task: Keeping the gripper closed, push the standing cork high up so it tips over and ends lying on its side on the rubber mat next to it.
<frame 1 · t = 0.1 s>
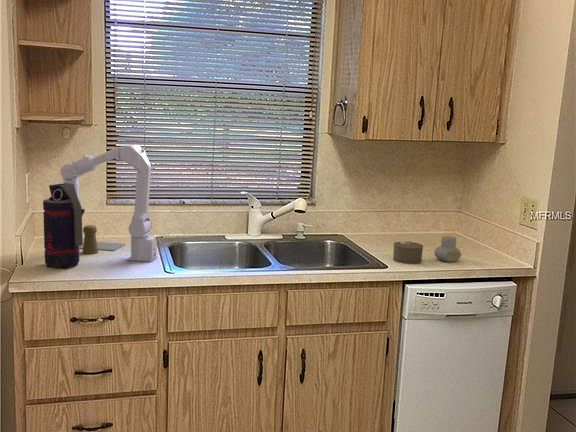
hand: (72, 229, 237), 10 cm above the worktop, tool pointing down, fingers open, 7 cm apart
cork: (90, 253, 243), on the worktop
grenade: (64, 266, 222), on the worktop
air freshener: (446, 260, 256), on the worktop
can: (407, 261, 252), on the worktop
mat: (101, 246, 253), on the worktop
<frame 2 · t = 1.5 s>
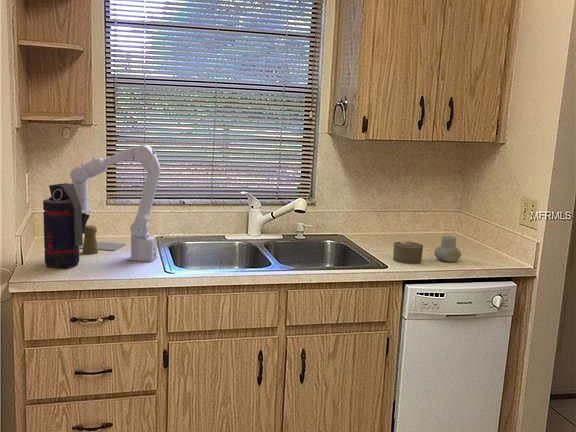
hand: (80, 233, 233), 10 cm above the worktop, tool pointing down, fingers closed
nothing on the worktop moved.
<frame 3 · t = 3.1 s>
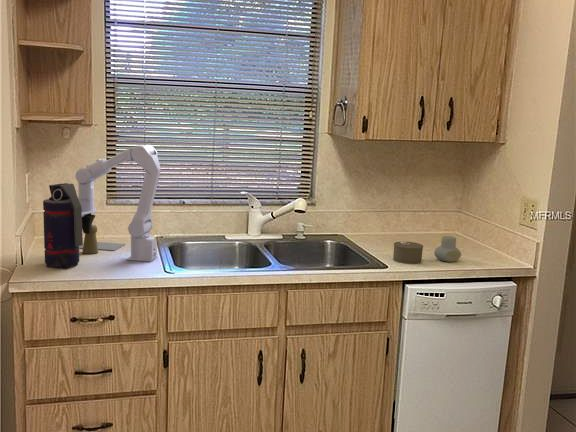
hand: (86, 233, 238), 8 cm above the worktop, tool pointing down, fingers closed
cork: (90, 252, 243), on the worktop, touching gripper
everything else where it was.
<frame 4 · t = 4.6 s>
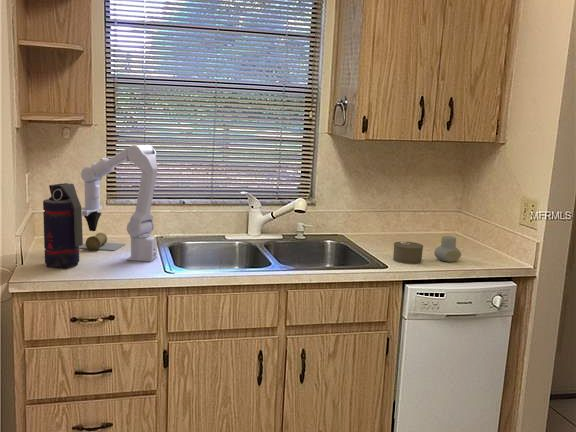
hand: (92, 230, 243), 8 cm above the worktop, tool pointing down, fingers closed
cork: (92, 243, 245), point 3 cm above the worktop, touching mat
everything else where it was.
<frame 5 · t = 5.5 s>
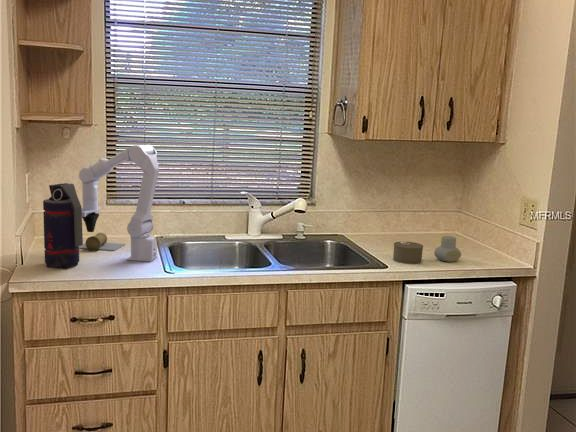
hand: (90, 231, 242), 8 cm above the worktop, tool pointing down, fingers closed
nothing on the worktop moved.
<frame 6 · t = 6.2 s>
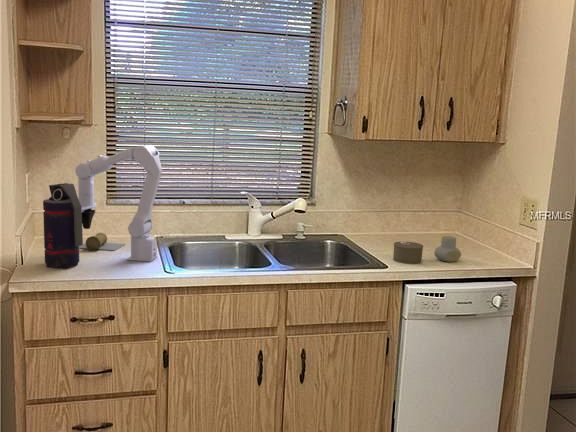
hand: (86, 228, 238), 10 cm above the worktop, tool pointing down, fingers closed
nothing on the worktop moved.
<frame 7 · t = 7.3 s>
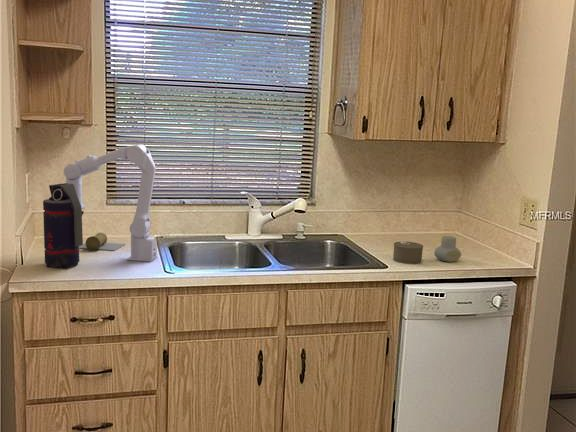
hand: (74, 229, 234), 10 cm above the worktop, tool pointing down, fingers closed
nothing on the worktop moved.
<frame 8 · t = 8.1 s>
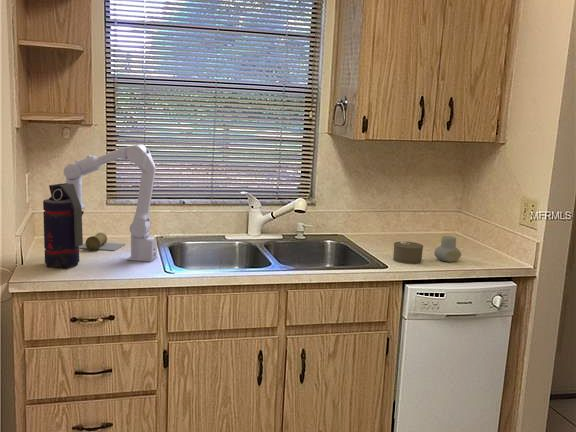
hand: (74, 229, 234), 10 cm above the worktop, tool pointing down, fingers closed
nothing on the worktop moved.
at the end: cork tilted 90°; cork touching mat, worktop; grenade moved 0.2 cm from its start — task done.
